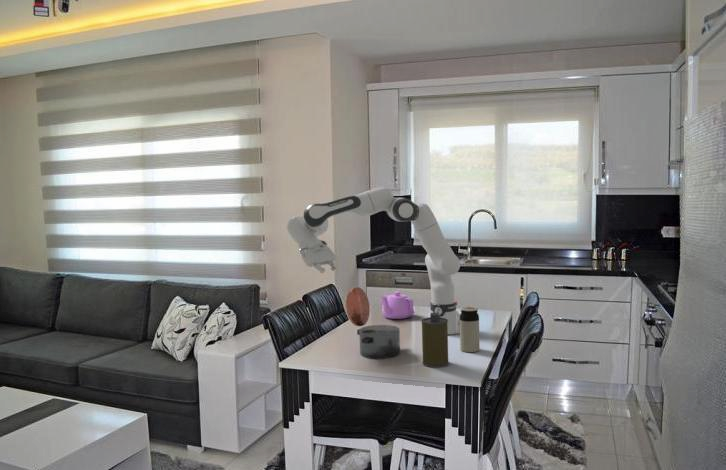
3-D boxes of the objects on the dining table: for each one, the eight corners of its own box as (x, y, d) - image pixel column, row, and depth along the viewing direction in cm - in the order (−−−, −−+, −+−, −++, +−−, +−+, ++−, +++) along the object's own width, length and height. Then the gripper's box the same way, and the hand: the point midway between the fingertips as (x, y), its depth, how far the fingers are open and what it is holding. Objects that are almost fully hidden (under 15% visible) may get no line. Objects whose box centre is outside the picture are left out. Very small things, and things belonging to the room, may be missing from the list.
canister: (448, 368, 212) (447, 316, 211) (421, 367, 214) (419, 316, 213) (449, 359, 223) (448, 310, 221) (423, 359, 225) (422, 310, 223)
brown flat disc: (372, 321, 246) (367, 322, 247) (365, 284, 246) (360, 285, 248) (353, 330, 232) (347, 330, 233) (345, 290, 232) (340, 291, 233)
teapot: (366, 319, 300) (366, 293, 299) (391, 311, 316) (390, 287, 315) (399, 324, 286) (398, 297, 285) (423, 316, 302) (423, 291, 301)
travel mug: (476, 353, 230) (475, 310, 229) (457, 351, 234) (457, 309, 232) (481, 348, 237) (481, 306, 236) (463, 346, 241) (462, 305, 239)
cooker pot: (374, 343, 251) (374, 321, 250) (410, 347, 242) (410, 324, 241) (345, 358, 230) (344, 334, 229) (383, 363, 221) (383, 338, 220)
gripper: (302, 244, 238) (321, 268, 234) (327, 241, 256) (345, 264, 252) (293, 253, 241) (311, 278, 237) (319, 250, 259) (336, 273, 255)
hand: (329, 271), depth 245 cm, fingers open, 8 cm apart
